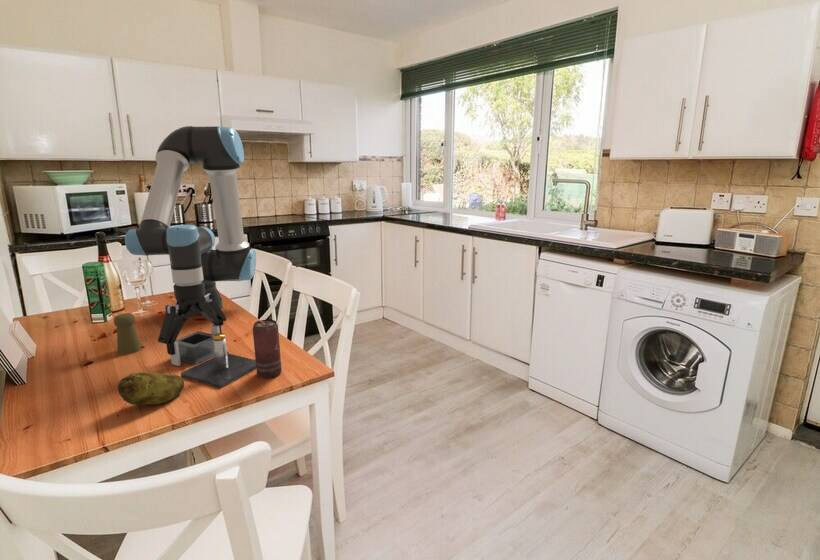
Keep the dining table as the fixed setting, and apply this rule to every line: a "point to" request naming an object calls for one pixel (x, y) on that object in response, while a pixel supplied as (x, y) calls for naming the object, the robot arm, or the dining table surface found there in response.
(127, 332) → the cork
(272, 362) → the can
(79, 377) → the dining table surface
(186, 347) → the grey open square box
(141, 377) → the green avocado
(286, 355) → the dining table surface
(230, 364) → the post
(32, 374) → the dining table surface
